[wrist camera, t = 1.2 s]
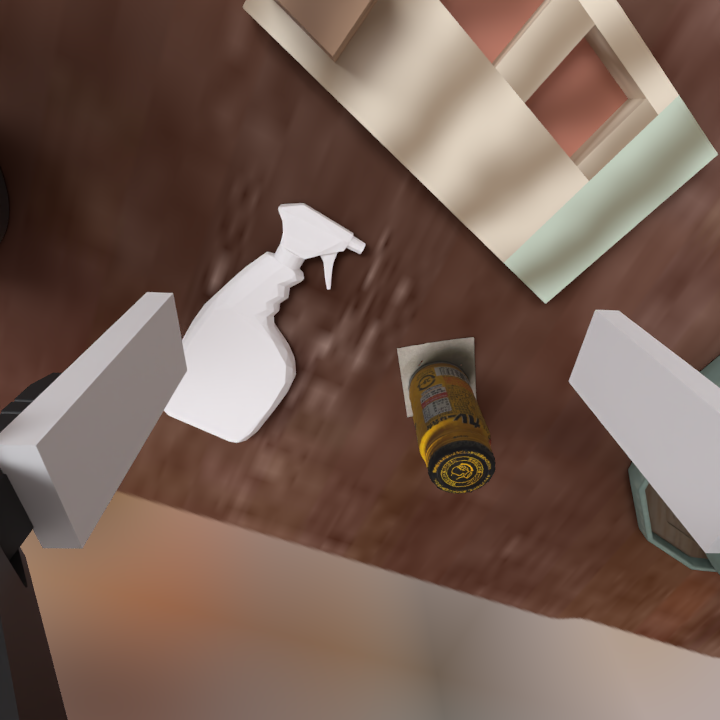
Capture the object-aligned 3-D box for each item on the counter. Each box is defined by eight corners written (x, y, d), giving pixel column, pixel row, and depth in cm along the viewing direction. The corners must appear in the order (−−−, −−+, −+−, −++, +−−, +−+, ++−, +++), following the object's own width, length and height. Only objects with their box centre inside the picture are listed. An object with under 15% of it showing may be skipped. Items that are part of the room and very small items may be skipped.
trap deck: (250, 14, 28) (242, 7, 26) (409, -264, 22) (415, -305, 20) (534, 292, 38) (545, 303, 36) (693, 151, 32) (717, 154, 30)
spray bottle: (158, 391, 44) (265, 173, 33) (255, 435, 47) (380, 247, 37) (146, 409, 41) (258, 177, 31) (249, 454, 44) (382, 257, 34)
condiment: (407, 416, 45) (422, 507, 35) (396, 347, 41) (411, 428, 31) (476, 406, 45) (513, 495, 34) (473, 335, 40) (514, 413, 30)
